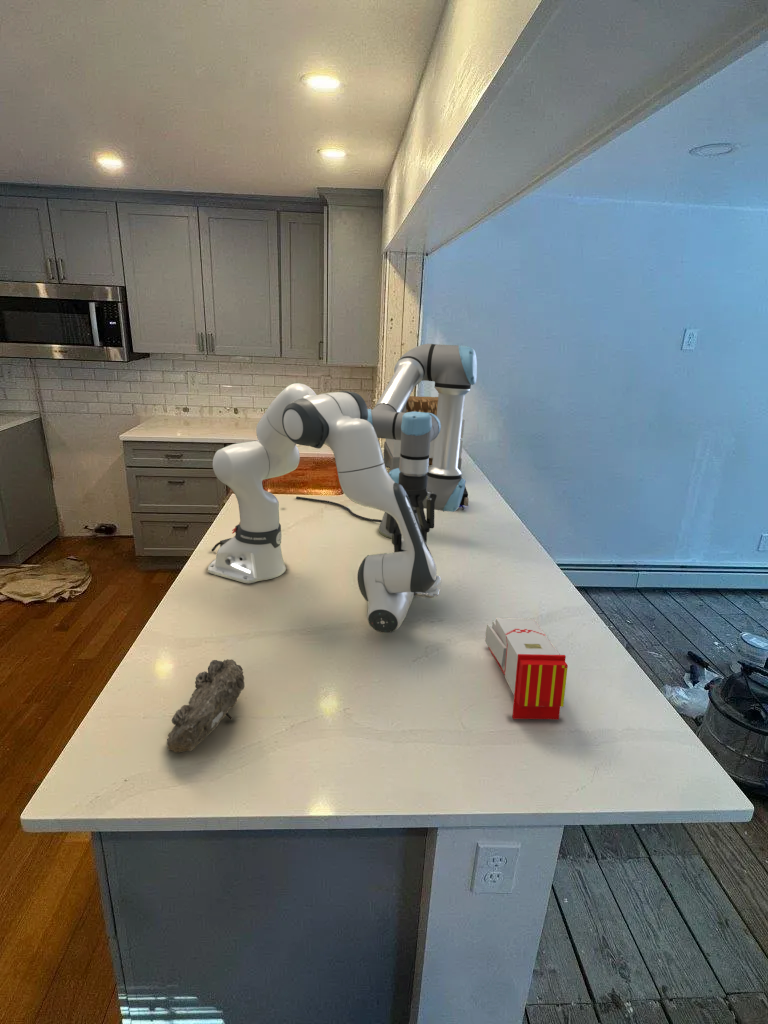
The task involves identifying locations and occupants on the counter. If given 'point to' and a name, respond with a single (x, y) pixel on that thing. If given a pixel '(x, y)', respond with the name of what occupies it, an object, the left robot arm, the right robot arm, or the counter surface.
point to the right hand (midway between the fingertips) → (408, 553)
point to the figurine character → (464, 499)
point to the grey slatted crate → (394, 446)
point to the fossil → (206, 705)
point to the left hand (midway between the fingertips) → (407, 569)
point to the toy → (529, 667)
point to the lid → (403, 545)
